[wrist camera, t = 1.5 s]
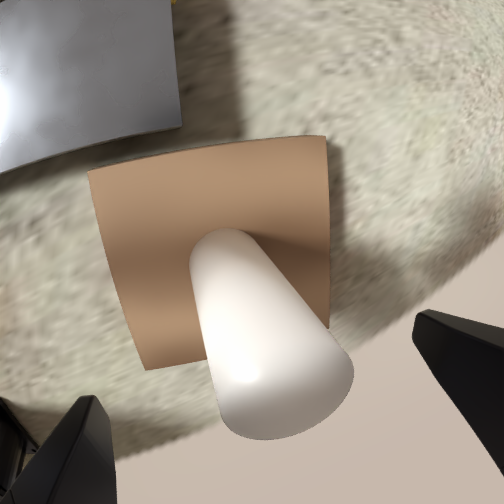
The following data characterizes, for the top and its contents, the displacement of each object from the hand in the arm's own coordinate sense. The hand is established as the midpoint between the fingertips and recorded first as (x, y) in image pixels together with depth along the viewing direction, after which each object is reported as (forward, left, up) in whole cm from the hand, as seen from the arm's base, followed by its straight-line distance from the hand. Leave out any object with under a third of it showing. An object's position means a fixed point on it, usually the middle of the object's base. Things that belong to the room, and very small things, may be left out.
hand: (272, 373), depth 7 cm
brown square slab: (0, 0, -9) cm, 9 cm away
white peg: (0, 0, -7) cm, 7 cm away
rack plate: (+16, +8, -9) cm, 20 cm away
